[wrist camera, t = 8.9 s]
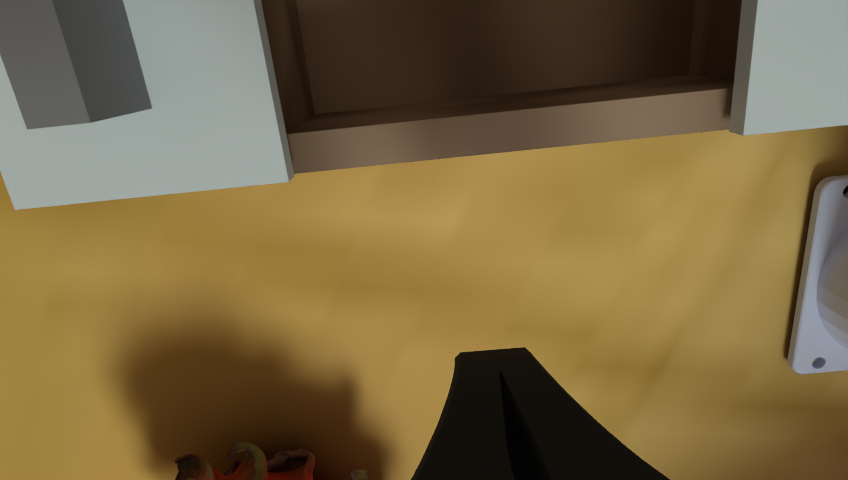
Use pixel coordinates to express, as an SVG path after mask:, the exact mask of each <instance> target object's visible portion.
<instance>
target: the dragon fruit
mask: <svg viewBox="0 0 848 480" xmlns="http://www.w3.org/2000/svg"><path fill="white" fill-rule="evenodd" d="M241 451H248V454H247V455H246V457H245V459H244V460H242V461H239V460H236V461H235V462H234V464H233V465H232V466H231V468H230V469H229V470H228V471H227V472H226V473H224V474H221V473H220V472H219V471H218V470H217V469H216V467H215V466H213V464H212V463H211V462H210V461H209V460H208V459H205V458H203V457H201V456H198V455H195V454H186V455H183V456H181V457H178V458H177V459H176V460H175V463H177V467H178V471H179V472H178V474H177V476H176V479H175V480H313V470H314V467H315V457H314V455H313V454H312V453H310V452H308V451H306V450H303V449H298V450H296V451H291V450H285V451H281V452H278V453H277V454H275V456H274V458H273V459H270V460H269V461H267V460H266V457H265V455H264V453H263V452H262V450H261V449H260V448H259V447H257V446H256V445H253V444H251V443H248V442H237V443H236V444H235V445H234V447H233V448H232V449H231V450H230V452H229V455H228V461H229V460H231V459H232V458H234V457H235V456H236V455H237V454H238V452H241ZM293 459H295V460H301V461H299V462H298V463H297V464H296V465H294V466H293V467H292V468H290V469H289V470H288V471H284V472H274V473H272V472H269V471H271V470H273V469H276V468H278V467H280V466H281V465H283V464H284V463H286V462H288V461H290V460H293ZM350 475H351V478H352V480H369V478H368V476H369V475H370V474H369V473H368V471H367V470H351V471H350Z"/></svg>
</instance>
